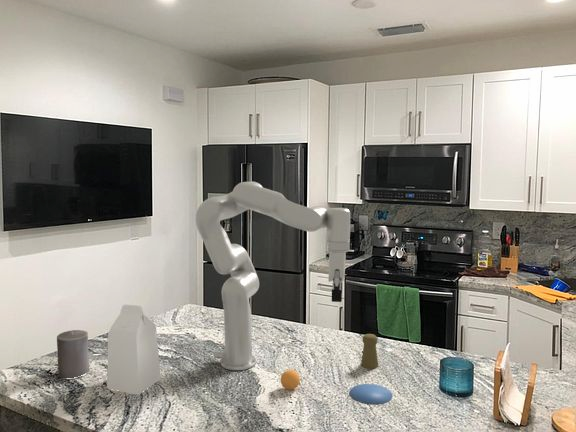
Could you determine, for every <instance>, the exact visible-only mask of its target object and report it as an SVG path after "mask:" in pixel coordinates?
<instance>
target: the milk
mask: <svg viewBox="0 0 576 432" xmlns="http://www.w3.org/2000/svg"><path fill="white" fill-rule="evenodd" d="M160 367H161V366H160V357H159V345H158V334H157V326H156V324H155V323H154V322H153V321H152V320H151V319H149V317H148V316H146V315H145V314H144V311H143V308H142V306H141V305H135V304H134V305H133V304H126V303H125V304H123V305H122V306H121V309H120V313H119V315H118V316H117V317H116V318H115V320H114V322H113V323H112V324H111V326H110V328H109V331H108V333H107V369H106V370H107V372H106V375H107V379H106V380H107V381H106V389H107V388H108V389H113V390H119V391H123V392H128V393H127V394H129V393H133V394H132V395H134V394H141V393H142V392H143V391H145V390H146V389H147V388H149V387H150V386H152V385H153V384H154V383H156V382H157V381H159V380H160V379H161V380H162V377H161V368H160ZM161 380H160V381H161ZM160 381H159V382H160ZM157 383H158V382H157ZM157 383H156V384H157ZM153 386H154V385H153ZM153 386H152V387H153ZM150 388H151V387H150ZM150 388H149V389H150ZM146 391H147V390H146ZM146 391H145V392H146ZM123 392H122V393H123ZM143 393H144V392H143ZM143 393H142V394H143ZM142 394H141V395H142Z"/></svg>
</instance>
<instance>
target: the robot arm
mask: <svg viewBox="0 0 576 432" xmlns="http://www.w3.org/2000/svg"><path fill="white" fill-rule="evenodd" d="M248 210H251V211H253V212H256V213H259V214H262V215H265V216H269V217H271V218H273V219H275V220H277V221H279V222H281V223H283V224H284V225H287V226H290V227H292V228H295V229H299V230H302V231H305V232H308V233H314V232H317V231H319V230H321V229H326V251H327V252H329V255H328V278H327V279H328V283H331V282H332V288H331V302H333V303H342V300H343V299H342V297H343V282H344V280H345V273H346V272H345V271H346V259H347V258H346V257H347V256H346V254H347V253H348V252H350V251H351V250H350V249H351V248H350V244H351V243H350V242H351V239H350V238H351V211H350V210H349V209H348V208H346V207H331V208H330V207H327V206H319V205H317V206H315V205H314V206H312V207H307V206H305V205H302V204H298V203H295V202H293V201H291V200H288V199H287V198H286V197H285V196H284V194H283V193H281V192H279V191H275V190H272V189H269V188H265V187H263V186H262V184H261V183H259V182H256V181H243V182H239V183H238V184H236V185H235V186H234V188H233V190H232V191H231V192H229V193H227V194H224V195H218V196H212V197H209V198H207V199H205V200H203V202H202V203H200V204H199V206H198V208H197V210H196V213H195V225H196V228H197V230H198V233H199V235H200V237H201V239H202V241H203V244H204V246H205V248H206V251H207V254H208V256H209V258H210V261H211V262H212V265H213V267H214V269H215V271H216V272H217V273H218V274H220V275H230V277H229V278H228V279H226V281H225V282H224V283H223V285H222V287H221V300H222V305H223V320H224V322H223V323H224V324H223V325H224V327H223V328H224V329H223V332H224V349H222V350H219V349H217V350H215V349H214V350H213V357H214V358H215V359H220V366H221V367H222V368H224V369H226V370H229V371H245V370H248V369H252V368H253V367H254V366H256V364H257V358H256V357H255V356H254V355H253V354H252V353H253V351H252V350H253V347H252V345H253V344H252V342H253V340H252V339H253V338H252V337H253V336H252V328H253V327H252V309H251V305H250V298H251V297H252V296H254V295H255V294H256V293H257V292H258V290H259V288H260V280H259V277H258V276H259V275H258V274H257V271H256V269H255V267H254V265H253V262H252V259H251V258H250V255H249V253H248V251H247V250H246V249H245V248H244V247H243V246H242V245H240V244H237V243H231V240H230V238H229V236H228V233H227V232H226V230H225V229H224V227H223V226H222V225H221V221H224V220H228V219H232V218H234V217H236V216H238V215H240V214H242V213H244V212H246V211H248Z"/></svg>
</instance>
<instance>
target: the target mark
mask: <svg viewBox="0 0 576 432" xmlns="http://www.w3.org/2000/svg"><path fill="white" fill-rule="evenodd" d="M349 396H350V397H351V398H352V399H354V401H357V402H359V403H362V404H367V405H380V404H385V403H388V402H390V401H391V400H392V398H393V392H392V391H391V390H390V389H389V388H386V387H384V386H382V385H378V384H372V383H362V384H357V385H354V386H353V387H351V388H350V390H349Z"/></svg>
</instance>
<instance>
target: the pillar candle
mask: <svg viewBox="0 0 576 432" xmlns="http://www.w3.org/2000/svg"><path fill="white" fill-rule="evenodd" d="M88 333H89V332H88V331H86V330H83V329H82V330H81V329H72V330H67V331H63V332H60V333H59V334H58V335H57V336H56V345H57V346H56V347H57V352H56V353H57V374H58V375H59V376H58V375H57V376H58V378H59V377H61V378H74V377H78V376H81V375H83V374H85V373H87V372H88V371H89V372H90V358H89V357H90V356H89V354H90V353H89V352H90V351H89V334H88ZM89 372H88V373H89ZM88 373H87V374H88ZM61 378H60V379H61Z"/></svg>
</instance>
